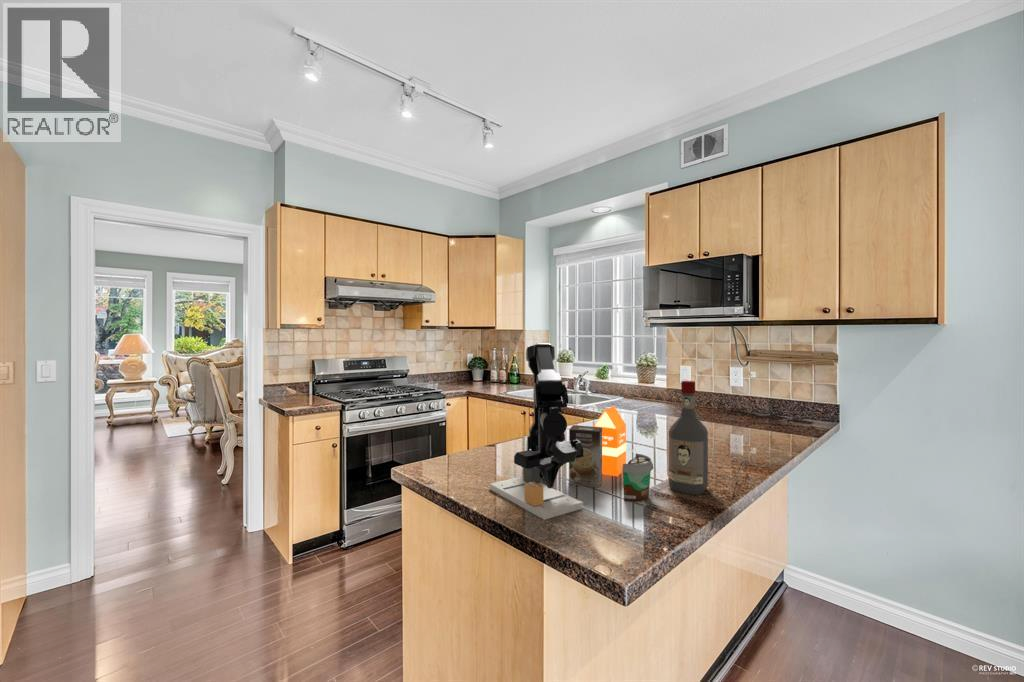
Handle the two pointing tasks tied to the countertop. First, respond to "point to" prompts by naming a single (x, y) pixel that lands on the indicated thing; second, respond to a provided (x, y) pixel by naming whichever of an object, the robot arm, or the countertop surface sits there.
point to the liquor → (688, 447)
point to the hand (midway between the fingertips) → (549, 487)
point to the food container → (637, 478)
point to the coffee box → (587, 456)
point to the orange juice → (612, 441)
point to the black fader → (531, 475)
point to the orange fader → (533, 493)
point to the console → (552, 498)
